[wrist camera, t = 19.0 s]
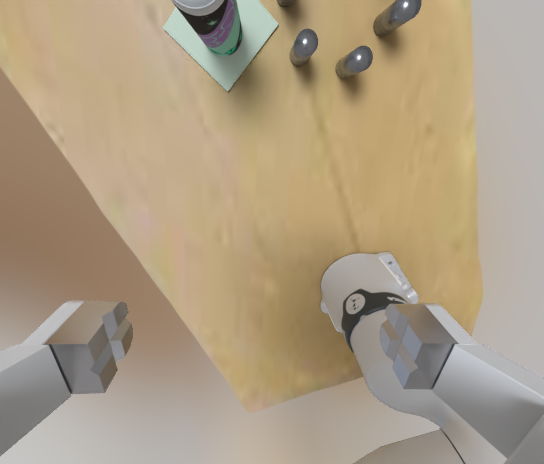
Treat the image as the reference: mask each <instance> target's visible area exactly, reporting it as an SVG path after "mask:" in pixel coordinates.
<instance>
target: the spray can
mask: <svg viewBox="0 0 544 464" xmlns="http://www.w3.org/2000/svg"><path fill="white" fill-rule="evenodd" d="M171 1H172V2H173V3H174V5H175V6H176V7H177V9H178V10H179V11H180V13H181V14H182V15H183V16H184V18H185V19H186V20H187V22H188V23H189V24H190V26H191V27H192V28H193V29H194V31H195V32H196V33H197V35H198V36H199V37H200V39H201V40H202V41H203V43H204V44H205V45H206V46H207V48H208V49H209V50H210V51H211V52H212V53H213V54H215V55H217V56H220V57H229V56H231V55H233V54H234V53H236V52H237V50H238V49H239V47H240V45H241V42H242V26H241V21H240V16H239V11H238V5H237V0H171Z"/></svg>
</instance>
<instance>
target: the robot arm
mask: <svg viewBox="0 0 544 464" xmlns="http://www.w3.org/2000/svg"><path fill="white" fill-rule="evenodd" d="M390 261H391V262H390ZM388 262H390V263H388ZM321 292H322V300H321V303H320V308H321V310H322V312H324V313H326V314H328V315H329V316H330V318H331V320H332V323H333V325H334V327H335V329H336V330H337V331H338V332H341V333H342V334H344V338H345V340H346V342H347V344H348V345H349V347H350V349H351V351H352V352H353V353H354V354H355V356H356V359H357V361H358V364H359V366H360V369H361V371H362V374H363V377H364V379H365V381H366V384H367V386H368V388H369V390H370V391H371V392H372V394H373V395H374V396H375V397H376V398H377V399H378V400H380V401H381V402H383V403H384V404H385V405H387V406H389V407H391V408H393V409H395V410H398V411H401V412H404V413H409V414H414V415H418V416H421V417H424V418H426V419H428V420H430V421H432V422H434V423H435V424H437V425H438V426H439V427H441V428H440V430H437V431H433V432H430V433H426V434H423V435H419V436H416V437H412V438H409V439H406V440H402V441H398V442H395V443H392V444H388V445H384V446H381V447H379V448H378V449H376V450H374V451H373V452H371V453H369V454H367V455H366V456H364V457H362V458H361V459H359V460H358V461H356V462H355V463H353V464H544V377H542V376H540V375H538V374H536V373H534V372H533V371H531V370H529V369H527V368H525V367H524V366H522V365H520V364H518V363H516V362H514V361H513V360H511V359H509V358H507V357H505V356H503V355H502V354H500V353H498V352H496V351H494V350H493V349H491V348H489V347H487V346H485V345H484V344H477V343H476V342H475V341H474V340H473V339H472V337H471V336H470V335H469V334H468V333H467V332H466V331H465V330H464V329H463V328H462V327H461V326H460V325H459V324H458V323H457V322H456V321H455V320H454V319H453V318H452V317H451V316H450V315H449V313H448V312H447V311H446V310H445V309H444V308H443V307H442V306H440V305H438V304H436V303H429V304H417V302H418V297H419V296H418V295H417V293H416V292H415V291H414V290H413V288H412V287H411V285H410V283H409V282H408V280H407V278H406V277H405V275H404V273H403V272H402V270H401V268H400V267H399V265H398V263H397V262H396V260H395V258H394V257H393V255H392V254H391V253H390V252H383V253H378V254H365V253H357V254H351V255H348V256H345V257H343V258H341V259H339V260H337V261H336V262H334V263H333V264H332V265H331V266H330V267H329V268H328V269H327V270H326V272H325V273H324V275H323V278H322V281H321ZM127 314H128V308H127V305H126V303H124V302H117V301H75V300H73V301H72V300H71V301H68V302H65V303H64V304H63V305H62V306H61V307H60V308H59V309H58V310H56V311H55V312H54V313H53V314H52V315H51V316H50V317H49V318H48V319H47V320H46V321H45V322H44V323H43V324H42V325H41V326H40V327H39V328H38V329H37V330H35V331H34V332H33V333H32V334H31V335H30V336H29V337H28V338H27V339H26V340H25V341H24V342H23V343H22V344H21V345H13V346H11V347H9V348H7V349H5V350H3V351H1V352H0V456H1V455H2V454H3V453H5V452H6V451H7V450H8V449H9V448H11V447H12V446H13V445H14V444H15V443H16V442H18V441H19V440H20V439H21V438H22V437H23V436H25V435H26V434H27V433H28V432H29V431H31V430H32V429H33V428H34V427H35V426H36V425H37V424H39V423H40V422H41V421H42V420H43V419H45V418H46V417H47V416H48V415H50V414H51V413H52V412H53V411H54V410H55V409H57V408H58V407H59V406H60V405H61V404H62V403H64V402H65V401H66V400H67V399H68V398H70V397H71V394H85V393H86V394H87V393H105V392H106V390H107V388H108V386H109V384H110V383H111V381H112V379H113V377H114V376H115V374H116V372H117V370H118V369H117V365H116V363H117V362H118V361H119V360H121V359H122V358H123V357H125V356H126V354H127V352H128V350H129V348H130V346H131V342H132V338H133V328H132V324H131V323H130V322H129V321H128V320H127V319H126V318H125V317H126V315H127Z"/></svg>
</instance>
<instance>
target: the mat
mask: <svg viewBox="0 0 544 464" xmlns="http://www.w3.org/2000/svg"><path fill="white" fill-rule="evenodd" d="M237 5H238V11H239V16H240V21H241V26H242V42H241V45H240V47H239V49H238V50H237V52H236V53H234V54H233V55H231V56H229V57H220V56H217V55H215V54H213V53H212V52H211V51H210V50H209V49H208V48H207V46H206V45H205V44H204V43H203V41H202V40H201V39H200V37H199V36H198V35H197V33H196V32H195V31H194V29H193V28H192V27H191V26H190V24H189V23H188V22H187V20H186V19H185V18H184V16H183V15H182V14H181V13H180V11H179V10H178V9H177V7H175V9H174V11H173V12H172V14H171V16H170V17H169V19H168V20H167V22H166V24H165V25H164V27H163V29H164V30H165V31H166V32H167V33H168V34H169V35H170V36H171V37H172V38H173V39H174V40H175V41H176V42H177V43H178V44H179V45H180V46H182V47H183V48H184V49H185V50H186V51H187V52H188V53H189V54H190V55H191V56H192V57H193V58H194V59H195V60H196V61H197V62H198V63H199V64H200V65H201V66H202V67H203V68H204V69H205V70H206V71H207V72H208V73H209V74H210V75H211V76H212V77H213V78H214V79H215V80H216V81H217V82H218V83H219V84H220V85H221V86H222V87H223V88H224V89H225V90H226V91H227V92H228V91H229V90H230V88H231V87H232V86H233V84H234V83H235V82H236V80H237V79H238V78H239V76H240V75H241V74H242V73H243V71H244V70H245V69H246V67H247V66H248V65H249V63H250V62H251V61H252V59H253V58H254V57H255V55H256V54H257V53H258V51H259V50H260V49H261V47H262V46H263V45H264V43H265V42H266V41H267V39H268V38H269V37H270V35H271V34H272V33H273V31H274V30H275V29H276V27H277V26H278V23H277V22H276V20H275V19H274V18H273V17H272V16H271V15H270V13H269V12H268V11H267V10H266V9H265V7H264V6H263V5H262V4H261V3H260V1H259V0H237Z"/></svg>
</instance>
